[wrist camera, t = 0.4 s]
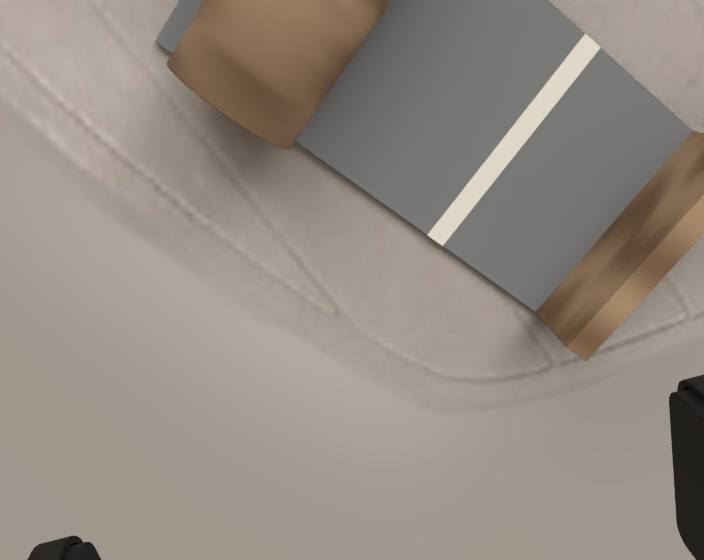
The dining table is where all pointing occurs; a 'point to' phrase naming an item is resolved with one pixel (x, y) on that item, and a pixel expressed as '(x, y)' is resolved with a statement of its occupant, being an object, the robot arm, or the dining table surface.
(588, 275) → the backstop board
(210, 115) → the dining table surface
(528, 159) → the throwing mat
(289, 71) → the brown cylinder
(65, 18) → the dining table surface
